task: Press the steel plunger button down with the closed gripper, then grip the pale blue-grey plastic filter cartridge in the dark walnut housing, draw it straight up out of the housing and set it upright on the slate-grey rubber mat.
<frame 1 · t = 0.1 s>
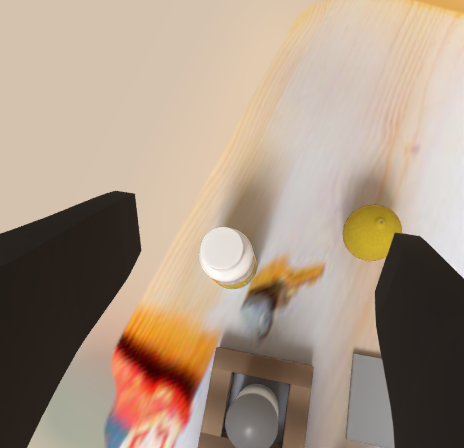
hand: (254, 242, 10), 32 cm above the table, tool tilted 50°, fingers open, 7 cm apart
walnut housing: (257, 406, 38), on the table
supplement bottle: (234, 266, 43), on the table
filter cartridge: (254, 414, 35), in the walnut housing
lemon: (362, 243, 42), on the table
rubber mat: (390, 402, 37), on the table
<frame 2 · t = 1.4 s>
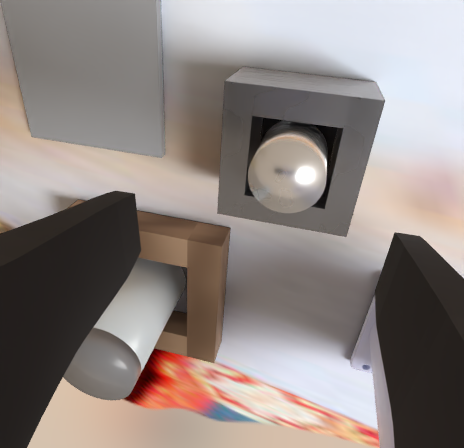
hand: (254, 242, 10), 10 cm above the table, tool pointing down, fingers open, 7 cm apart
plunger collar: (297, 138, 18), on the table
walnut housing: (155, 275, 26), on the table
filter cartridge: (128, 316, 22), in the walnut housing
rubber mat: (89, 69, 19), on the table
plunger button: (290, 164, 16), point 3 cm above the table, slide at 0.0 cm
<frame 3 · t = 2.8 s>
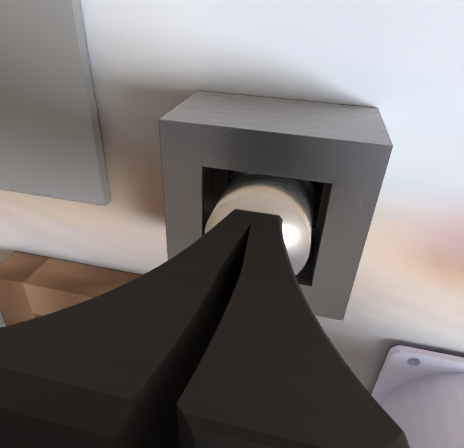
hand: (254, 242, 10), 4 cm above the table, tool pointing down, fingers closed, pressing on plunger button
plunger collar: (274, 180, 14), on the table
walnut housing: (116, 336, 21), on the table
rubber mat: (4, 97, 15), on the table
plunger button: (263, 217, 12), point 3 cm above the table, slide at 0.8 cm, touching gripper
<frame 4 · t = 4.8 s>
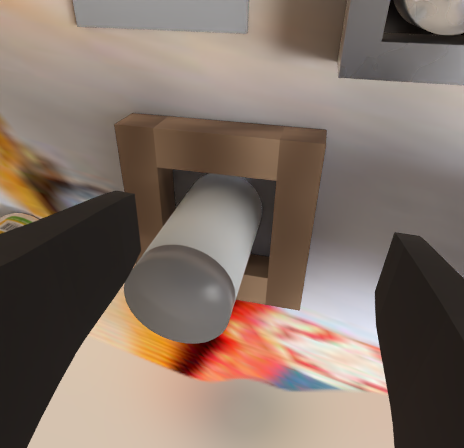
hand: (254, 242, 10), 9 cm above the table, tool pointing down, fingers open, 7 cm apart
walnut housing: (224, 207, 21), on the table
supplement bottle: (35, 241, 27), on the table
filter cartridge: (204, 247, 18), in the walnut housing
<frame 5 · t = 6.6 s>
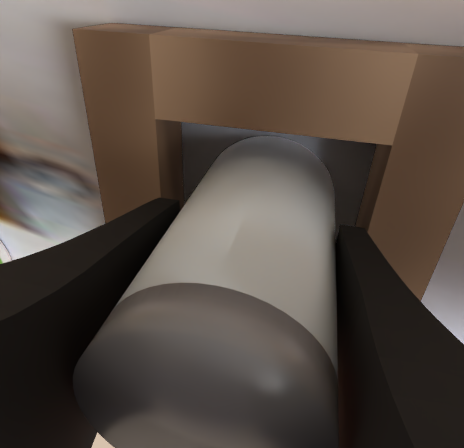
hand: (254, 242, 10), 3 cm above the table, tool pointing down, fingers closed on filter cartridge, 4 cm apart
walnut housing: (267, 199, 13), on the table
filter cartridge: (245, 272, 9), in the walnut housing, touching gripper
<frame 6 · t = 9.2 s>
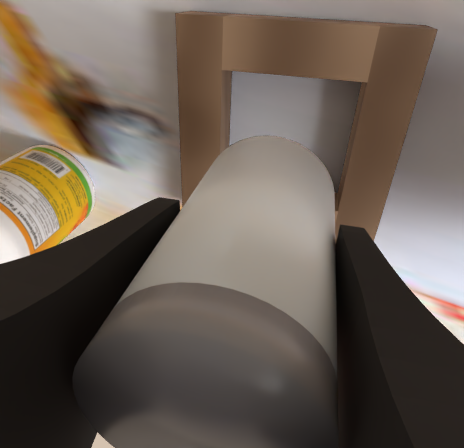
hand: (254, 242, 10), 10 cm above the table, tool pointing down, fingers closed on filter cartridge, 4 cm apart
walnut housing: (288, 131, 19), on the table
supplement bottle: (60, 182, 24), on the table
filter cartridge: (245, 272, 9), point 11 cm above the table, touching gripper
when the fingers open (5 cm above the table, at t = 12.1 s): filter cartridge drops 1 cm, resting on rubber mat.
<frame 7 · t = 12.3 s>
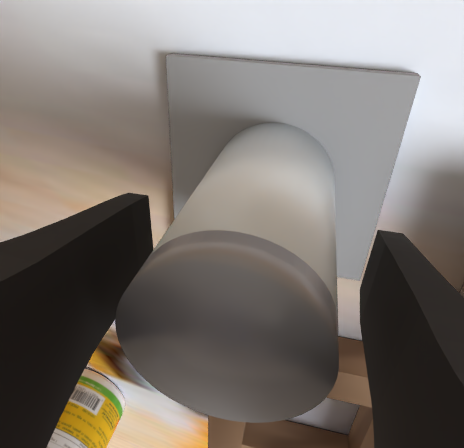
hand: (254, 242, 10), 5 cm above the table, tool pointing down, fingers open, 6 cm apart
walnut housing: (304, 393, 21), on the table
supplement bottle: (92, 387, 26), on the table
filter cartridge: (255, 240, 11), on the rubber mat
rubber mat: (275, 174, 14), on the table
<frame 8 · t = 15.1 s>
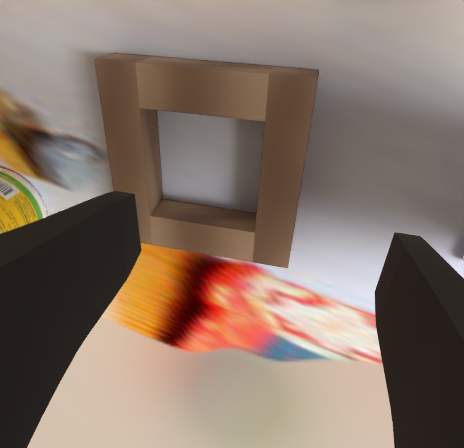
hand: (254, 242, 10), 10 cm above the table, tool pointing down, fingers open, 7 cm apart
walnut housing: (211, 159, 20), on the table
supplement bottle: (15, 200, 26), on the table
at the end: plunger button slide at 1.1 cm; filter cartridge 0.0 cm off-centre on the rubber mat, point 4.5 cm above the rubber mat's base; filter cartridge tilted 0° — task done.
